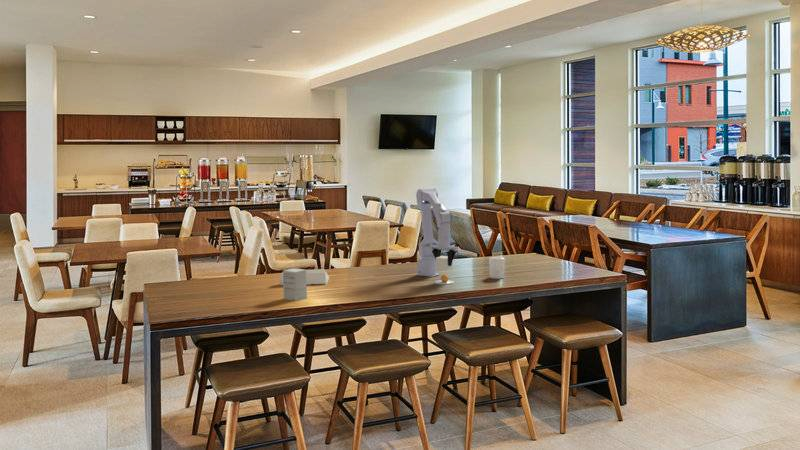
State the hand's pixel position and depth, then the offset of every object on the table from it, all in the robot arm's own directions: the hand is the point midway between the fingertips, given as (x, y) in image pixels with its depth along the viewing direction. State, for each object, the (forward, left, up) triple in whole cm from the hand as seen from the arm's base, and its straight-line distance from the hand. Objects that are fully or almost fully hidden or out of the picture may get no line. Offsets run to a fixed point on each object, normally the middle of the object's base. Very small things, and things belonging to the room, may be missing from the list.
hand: (444, 265), depth 347 cm
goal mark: (0, 0, -8) cm, 8 cm away
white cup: (+16, +25, -9) cm, 31 cm away
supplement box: (-36, -66, -9) cm, 76 cm away
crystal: (-55, -38, -9) cm, 68 cm away
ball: (0, 0, -6) cm, 7 cm away
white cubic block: (0, 0, -2) cm, 2 cm away
